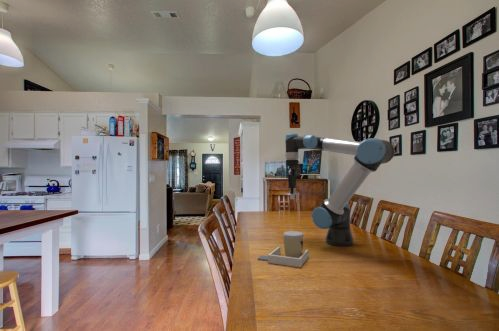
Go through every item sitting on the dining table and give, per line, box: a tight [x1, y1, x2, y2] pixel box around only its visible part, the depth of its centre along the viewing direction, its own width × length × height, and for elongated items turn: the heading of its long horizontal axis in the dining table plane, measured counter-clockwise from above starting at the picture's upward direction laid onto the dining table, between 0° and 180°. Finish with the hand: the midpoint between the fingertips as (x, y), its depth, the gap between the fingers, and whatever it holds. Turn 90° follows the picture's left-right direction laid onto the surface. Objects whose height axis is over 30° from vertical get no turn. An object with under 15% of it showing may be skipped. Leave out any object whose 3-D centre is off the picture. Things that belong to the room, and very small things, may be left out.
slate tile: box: [257, 255, 268, 262], centre depth 129 cm, size 5×5×1 cm
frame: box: [267, 246, 309, 268], centre depth 127 cm, size 15×15×4 cm
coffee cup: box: [282, 230, 304, 258], centre depth 128 cm, size 9×9×12 cm
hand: (292, 198), depth 163 cm, fingers closed
